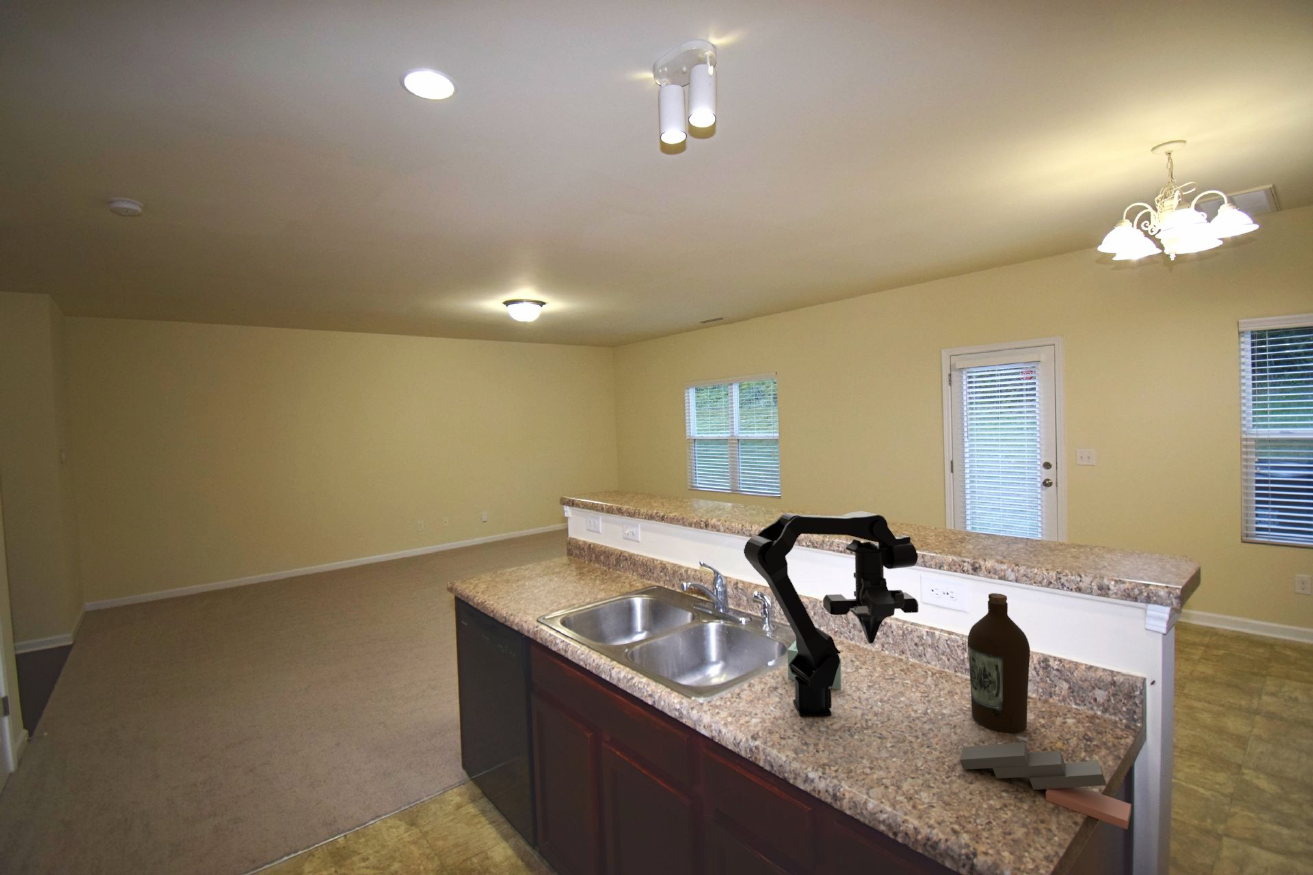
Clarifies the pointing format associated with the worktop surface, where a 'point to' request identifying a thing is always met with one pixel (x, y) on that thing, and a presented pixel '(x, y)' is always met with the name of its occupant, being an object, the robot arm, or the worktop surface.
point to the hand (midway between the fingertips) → (870, 642)
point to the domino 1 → (995, 756)
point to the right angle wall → (791, 654)
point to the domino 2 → (1035, 766)
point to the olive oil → (999, 669)
